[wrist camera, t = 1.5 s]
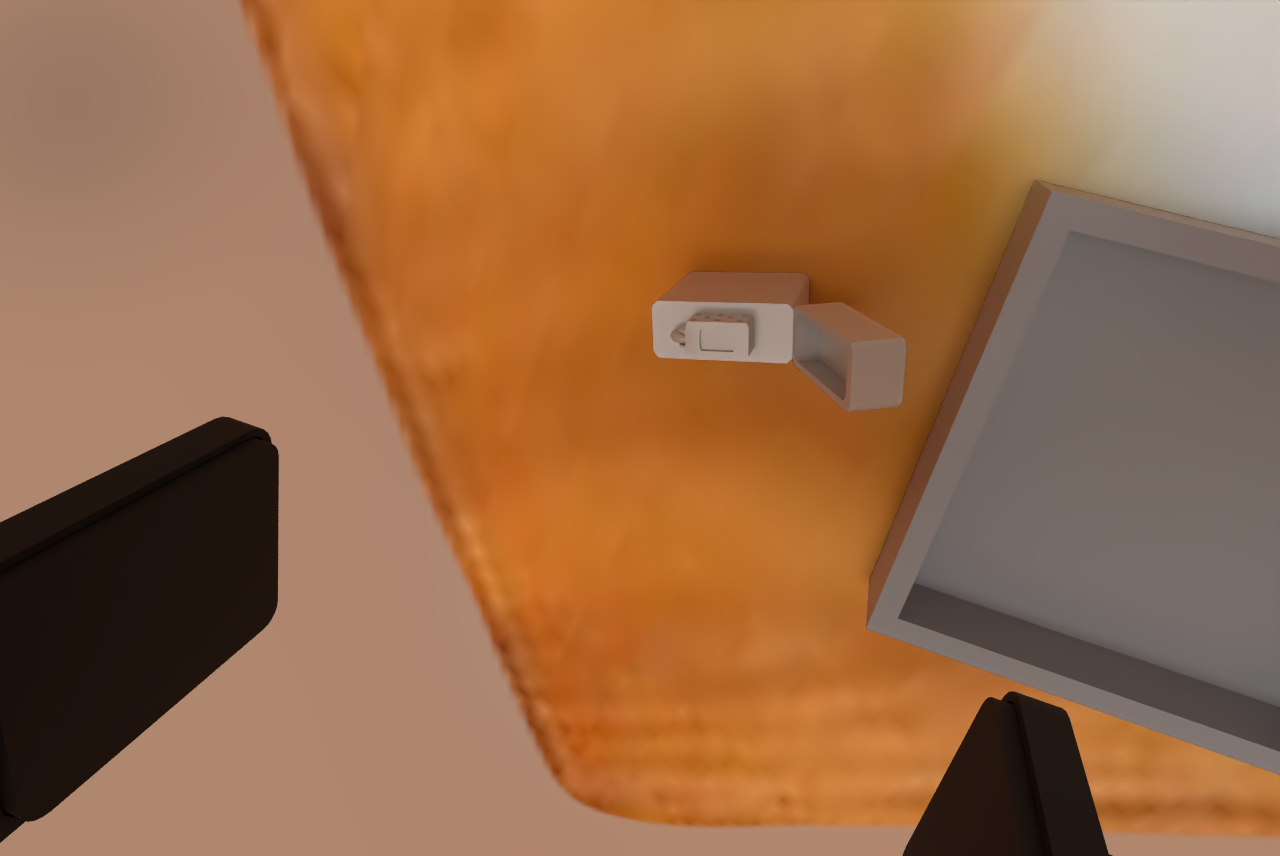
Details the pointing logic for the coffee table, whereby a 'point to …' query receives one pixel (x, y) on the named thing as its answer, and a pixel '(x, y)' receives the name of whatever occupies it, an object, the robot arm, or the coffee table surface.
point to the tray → (1109, 477)
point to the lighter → (782, 334)
